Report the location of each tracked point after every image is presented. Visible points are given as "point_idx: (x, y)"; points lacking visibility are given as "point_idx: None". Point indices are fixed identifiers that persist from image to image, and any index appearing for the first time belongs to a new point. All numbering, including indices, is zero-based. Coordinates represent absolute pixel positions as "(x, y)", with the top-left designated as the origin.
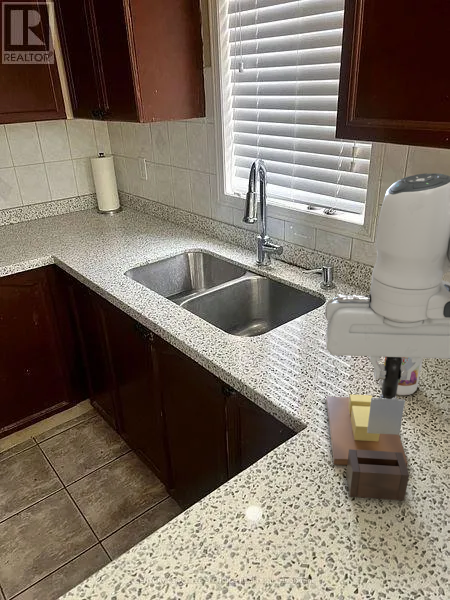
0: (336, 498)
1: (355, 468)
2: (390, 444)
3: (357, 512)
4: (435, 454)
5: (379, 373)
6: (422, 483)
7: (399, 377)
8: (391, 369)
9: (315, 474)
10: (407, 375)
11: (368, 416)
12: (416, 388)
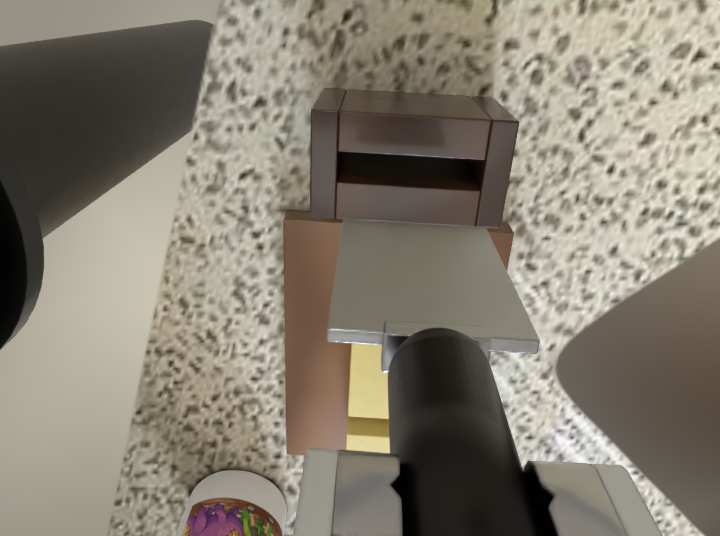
0: (537, 89)
1: (504, 136)
2: (319, 290)
3: (484, 35)
4: (189, 266)
5: (621, 519)
6: (251, 157)
7: (397, 476)
8: None
9: (578, 183)
10: (332, 492)
11: (379, 378)
12: (194, 490)
